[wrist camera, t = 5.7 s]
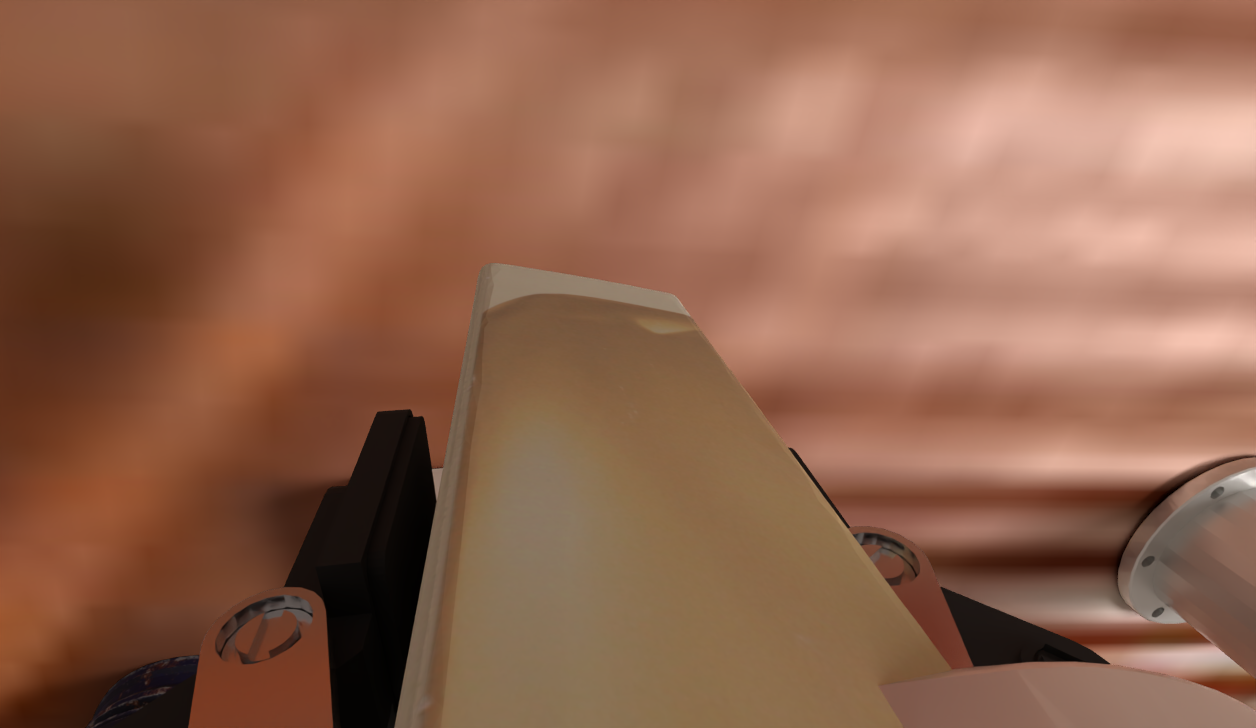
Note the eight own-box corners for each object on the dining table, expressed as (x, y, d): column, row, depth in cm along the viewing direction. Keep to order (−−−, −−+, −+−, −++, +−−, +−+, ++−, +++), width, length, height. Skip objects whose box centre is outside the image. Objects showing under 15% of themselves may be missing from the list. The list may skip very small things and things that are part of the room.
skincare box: (622, 517, 16) (840, 1432, 5) (447, 504, 15) (280, 1595, 4) (684, 277, 14) (1310, 1070, 3) (479, 242, 13) (280, 1247, 2)
